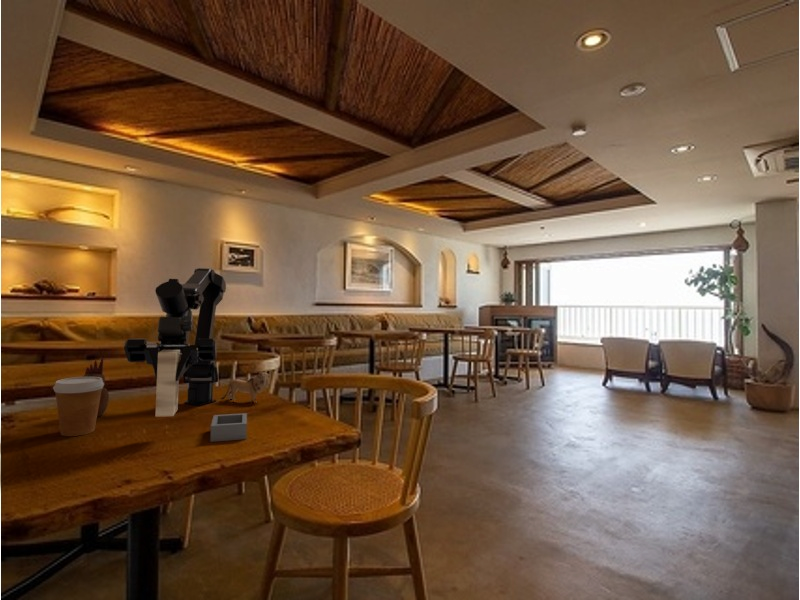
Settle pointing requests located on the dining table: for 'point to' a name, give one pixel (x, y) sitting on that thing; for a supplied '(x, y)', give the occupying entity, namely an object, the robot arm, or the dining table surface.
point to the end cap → (228, 427)
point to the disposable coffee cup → (78, 404)
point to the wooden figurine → (104, 393)
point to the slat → (167, 383)
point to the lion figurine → (249, 386)
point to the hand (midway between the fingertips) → (167, 380)
